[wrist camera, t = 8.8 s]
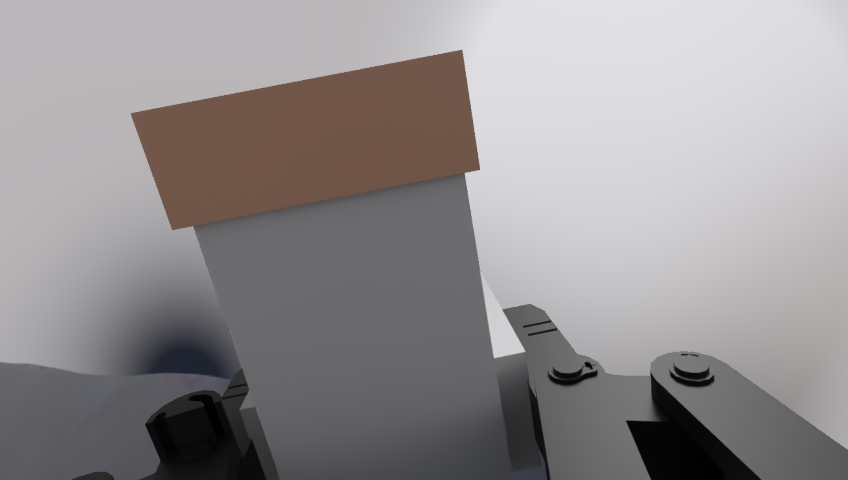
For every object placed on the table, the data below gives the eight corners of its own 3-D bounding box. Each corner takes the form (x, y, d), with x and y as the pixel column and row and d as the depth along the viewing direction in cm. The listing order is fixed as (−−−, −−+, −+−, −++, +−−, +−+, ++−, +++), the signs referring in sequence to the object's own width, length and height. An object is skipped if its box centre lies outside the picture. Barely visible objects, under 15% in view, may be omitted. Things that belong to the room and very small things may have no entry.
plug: (386, 829, 10) (130, 113, 6) (387, 622, 15) (239, 112, 10) (572, 788, 11) (461, 50, 6) (520, 594, 15) (432, 74, 10)
